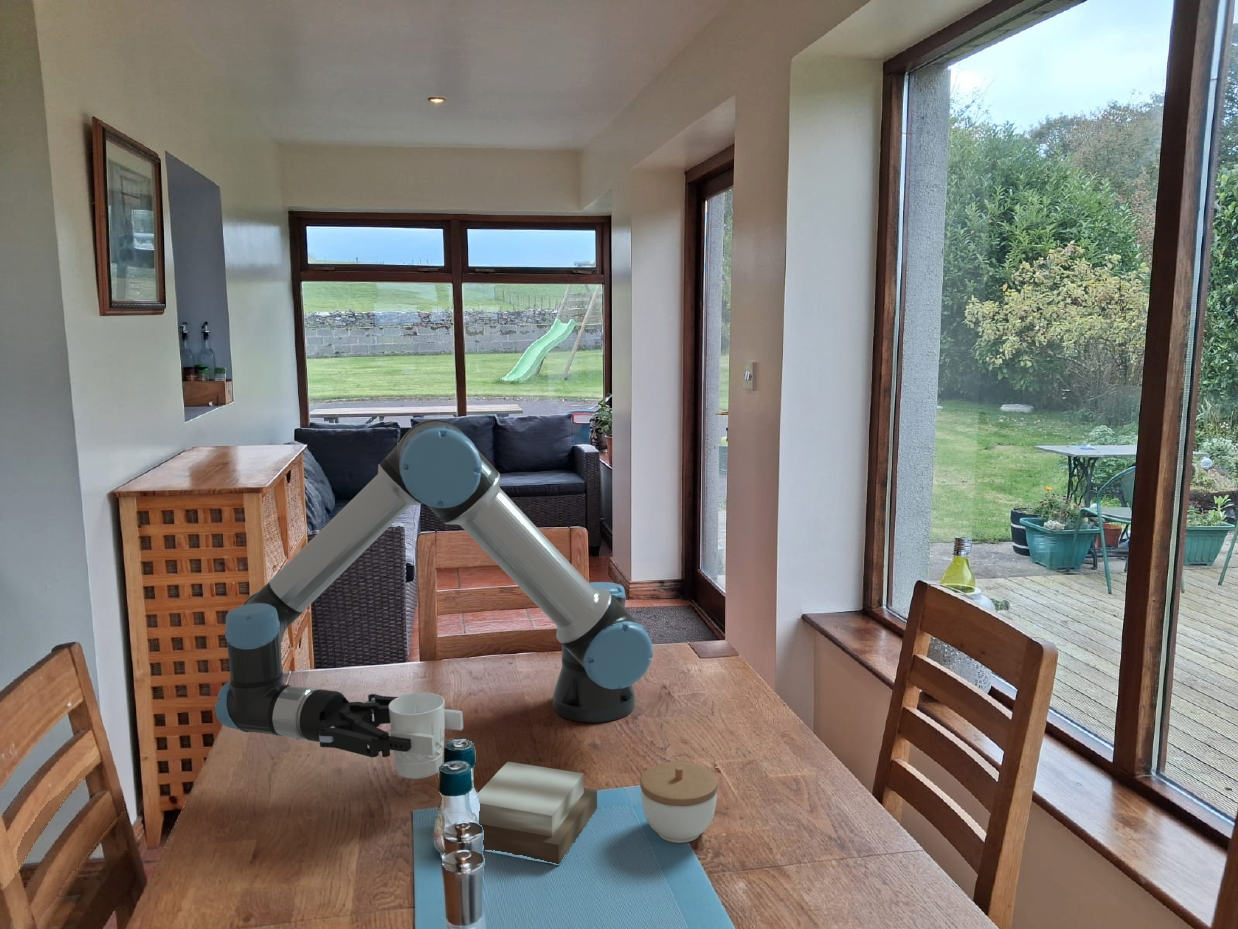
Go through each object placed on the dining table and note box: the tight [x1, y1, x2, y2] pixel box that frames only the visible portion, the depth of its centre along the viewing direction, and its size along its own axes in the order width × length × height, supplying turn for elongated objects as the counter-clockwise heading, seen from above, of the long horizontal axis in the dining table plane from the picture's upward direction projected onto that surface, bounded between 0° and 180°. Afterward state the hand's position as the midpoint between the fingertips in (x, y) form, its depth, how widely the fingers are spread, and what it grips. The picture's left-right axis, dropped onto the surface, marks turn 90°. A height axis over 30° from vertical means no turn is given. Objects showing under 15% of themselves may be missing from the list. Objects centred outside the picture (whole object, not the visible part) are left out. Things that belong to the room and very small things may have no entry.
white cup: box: [389, 691, 446, 780], centre depth 133 cm, size 8×8×10 cm
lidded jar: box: [639, 761, 719, 844], centre depth 128 cm, size 11×11×9 cm
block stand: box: [477, 761, 598, 864], centre depth 129 cm, size 15×15×6 cm
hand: (447, 733), depth 132 cm, fingers closed on white cup, 7 cm apart
